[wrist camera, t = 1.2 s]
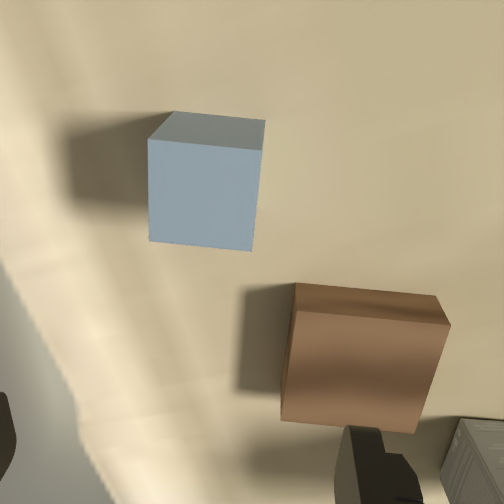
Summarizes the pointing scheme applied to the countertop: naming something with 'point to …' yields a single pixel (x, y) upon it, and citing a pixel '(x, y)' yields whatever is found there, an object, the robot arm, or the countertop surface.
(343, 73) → the countertop surface
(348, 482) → the robot arm
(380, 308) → the walnut base
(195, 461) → the countertop surface
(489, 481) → the skincare box
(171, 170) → the blue block
